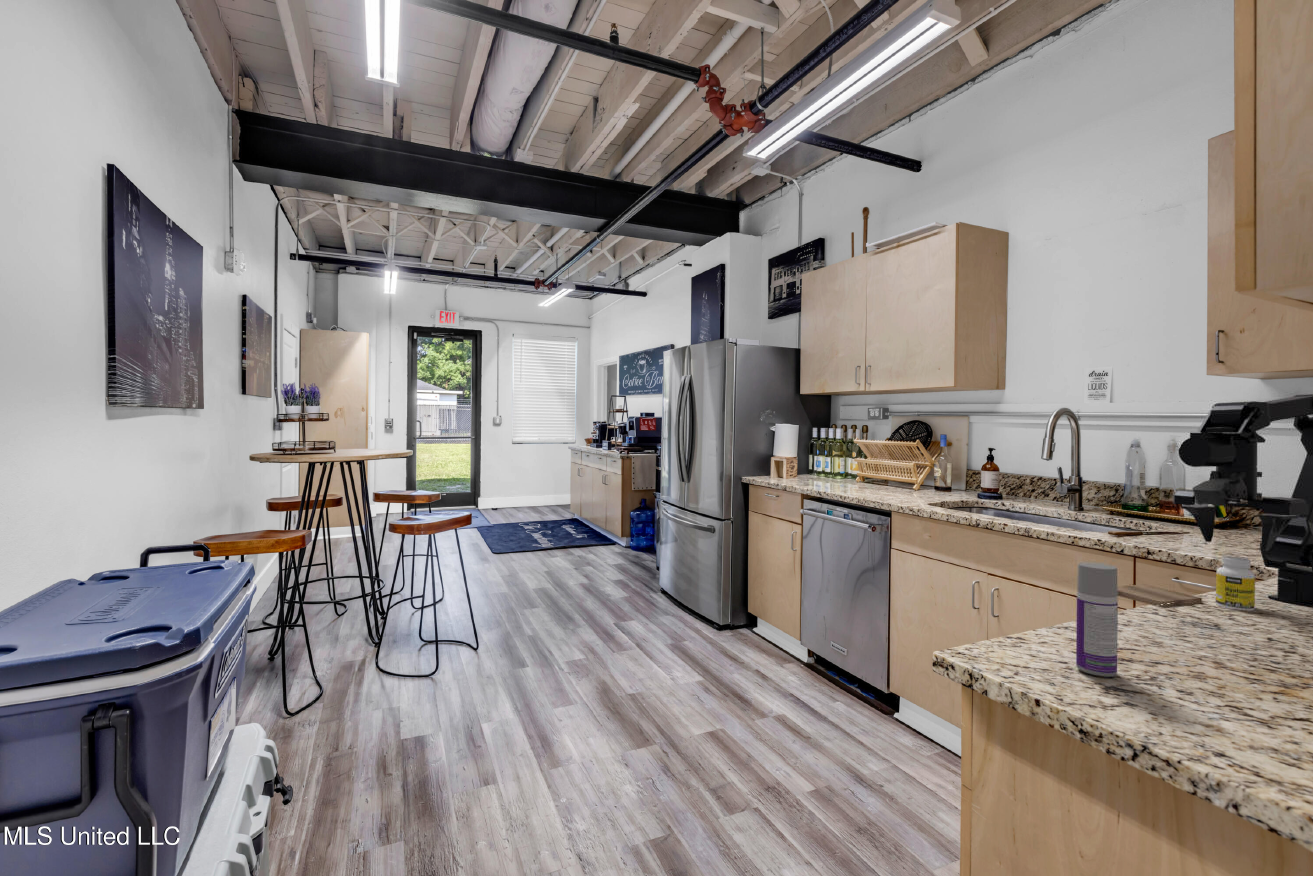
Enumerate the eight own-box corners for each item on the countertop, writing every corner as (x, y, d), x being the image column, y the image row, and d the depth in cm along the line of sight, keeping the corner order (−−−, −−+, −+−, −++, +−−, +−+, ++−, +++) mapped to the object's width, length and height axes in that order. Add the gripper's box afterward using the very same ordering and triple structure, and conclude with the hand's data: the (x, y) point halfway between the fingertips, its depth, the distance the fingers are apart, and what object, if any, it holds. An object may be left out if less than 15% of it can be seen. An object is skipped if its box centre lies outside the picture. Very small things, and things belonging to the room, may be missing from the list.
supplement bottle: (1221, 609, 113) (1222, 559, 113) (1211, 602, 118) (1211, 554, 117) (1260, 614, 110) (1260, 562, 110) (1247, 606, 115) (1248, 557, 115)
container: (1077, 661, 87) (1078, 560, 87) (1117, 669, 84) (1118, 565, 84) (1074, 670, 83) (1075, 566, 83) (1116, 679, 80) (1117, 571, 80)
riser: (1144, 591, 128) (1144, 584, 128) (1201, 605, 117) (1201, 597, 117) (1105, 594, 125) (1105, 587, 125) (1160, 609, 114) (1160, 601, 114)
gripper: (1153, 464, 121) (1153, 539, 121) (1267, 470, 103) (1267, 558, 103) (1193, 463, 123) (1193, 537, 124) (1311, 468, 105) (1310, 554, 106)
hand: (1235, 546), depth 114 cm, fingers open, 9 cm apart
